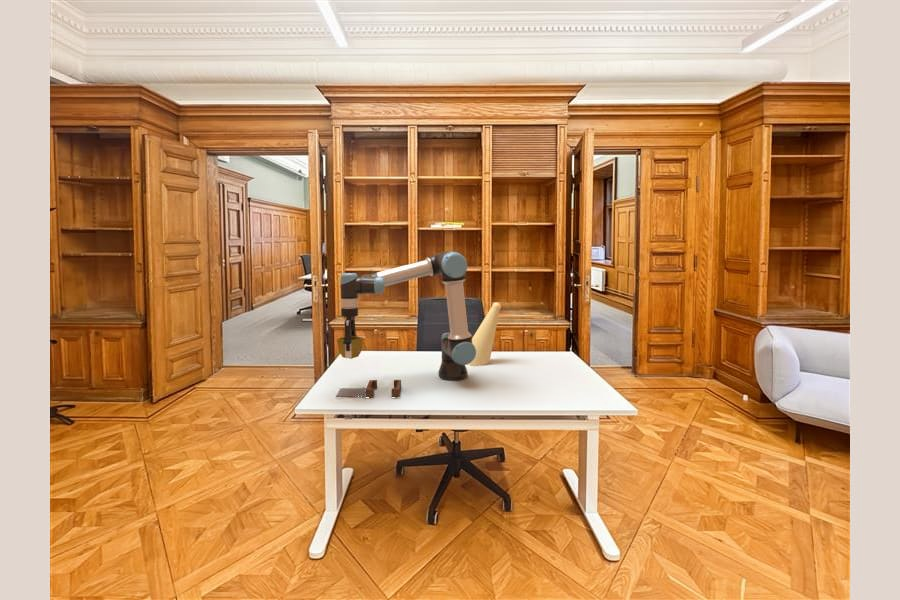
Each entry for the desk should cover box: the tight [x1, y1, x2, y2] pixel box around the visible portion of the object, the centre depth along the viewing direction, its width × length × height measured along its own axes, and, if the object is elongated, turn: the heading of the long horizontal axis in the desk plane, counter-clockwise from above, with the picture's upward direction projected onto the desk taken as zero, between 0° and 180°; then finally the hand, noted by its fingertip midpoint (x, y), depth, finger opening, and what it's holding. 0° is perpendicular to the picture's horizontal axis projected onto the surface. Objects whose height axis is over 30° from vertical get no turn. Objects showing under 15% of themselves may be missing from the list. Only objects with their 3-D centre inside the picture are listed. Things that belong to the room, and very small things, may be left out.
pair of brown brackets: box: [365, 379, 402, 399], centre depth 230 cm, size 15×15×4 cm
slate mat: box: [335, 387, 367, 398], centre depth 230 cm, size 12×12×1 cm
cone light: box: [466, 302, 502, 367], centre depth 285 cm, size 25×18×35 cm
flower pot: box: [336, 336, 364, 360], centre depth 227 cm, size 9×9×9 cm
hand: (350, 354), depth 228 cm, fingers closed on flower pot, 11 cm apart
